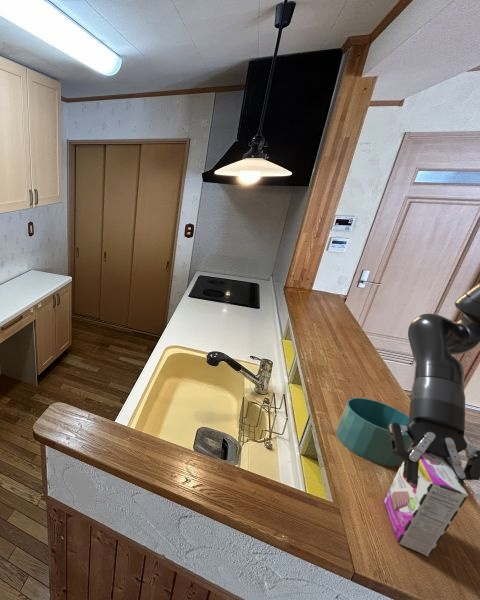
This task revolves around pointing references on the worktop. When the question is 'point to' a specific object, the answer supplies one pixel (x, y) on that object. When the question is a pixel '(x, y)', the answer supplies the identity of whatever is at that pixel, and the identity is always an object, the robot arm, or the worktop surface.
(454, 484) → the candy bar box
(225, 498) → the worktop surface
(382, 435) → the bucket
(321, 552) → the worktop surface
